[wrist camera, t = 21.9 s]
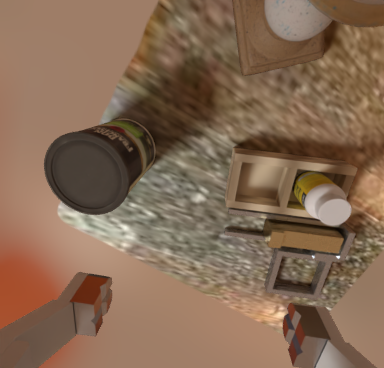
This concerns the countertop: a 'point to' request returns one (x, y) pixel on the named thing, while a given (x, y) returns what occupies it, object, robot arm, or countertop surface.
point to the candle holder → (293, 29)
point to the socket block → (296, 253)
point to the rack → (277, 180)
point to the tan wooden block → (302, 236)
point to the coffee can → (99, 165)
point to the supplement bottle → (321, 197)
